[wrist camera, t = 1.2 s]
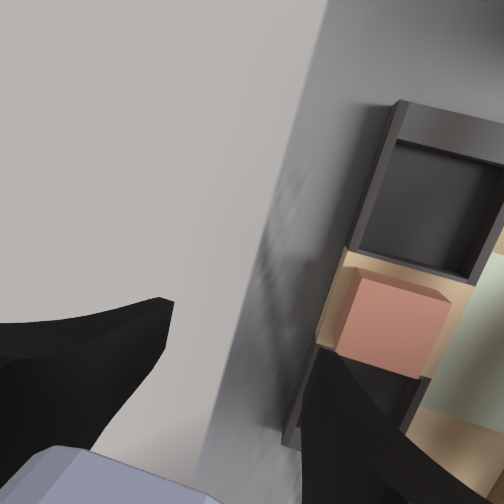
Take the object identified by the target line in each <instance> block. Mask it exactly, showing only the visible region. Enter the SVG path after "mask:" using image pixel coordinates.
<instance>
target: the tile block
mask: <svg viewBox="0 0 504 504" xmlns="http://www.w3.org/2000/svg"><path fill="white" fill-rule="evenodd" d="M451 306H452V303H451V302H450V301H449V300H448V299H447V298H446V297H445V296H443V295H442V294H441V293H440V292H439V291H438V290H436V289H433V288H429V287H426V286H422V285H419V284H415V283H411V282H408V281H404V280H401V279H397V278H394V277H390V276H387V275H383V274H380V273H376V272H373V271H369V270H366V269H362V268H359V267H356V270H355V273H354V275H353V278H352V281H351V284H350V287H349V289H348V292H347V295H346V298H345V301H344V303H343V306H342V309H341V312H340V315H339V317H338V320H337V323H336V326H335V329H334V331H333V334H332V340H333V347H334V352H337V353H338V355H341V356H344V357H347V358H350V359H354V360H357V361H360V362H363V363H366V364H370V365H373V366H376V367H379V368H383V369H386V370H389V371H392V372H395V373H399V374H402V375H405V376H408V377H411V378H415V379H418V378H419V376H420V374H421V372H422V370H423V367H424V365H425V363H426V361H427V359H428V356H429V354H430V352H431V350H432V348H433V346H434V343H435V341H436V339H437V337H438V335H439V332H440V330H441V328H442V326H443V324H444V322H445V319H446V317H447V315H448V313H449V311H450V308H451Z"/></svg>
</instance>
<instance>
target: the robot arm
mask: <svg viewBox="0 0 504 504" xmlns="http://www.w3.org/2000/svg"><path fill="white" fill-rule="evenodd" d="M173 306H174V302H173V301H170V300H167V299H164V298H161V297H157V298H152V299H149V300H145V301H141V302H138V303H134V304H131V305H128V306H124V307H120V308H117V309H113V310H109V311H104V312H101V313H96V314H92V315H87V316H82V317H75V318H69V319H62V320H53V321H40V322H28V323H0V504H224V503H222V502H220V501H219V500H217V499H215V498H214V497H212V496H211V495H209V494H207V493H204V492H202V491H199V490H196V489H193V488H191V487H188V486H185V485H182V484H180V483H177V482H174V481H171V480H169V479H166V478H163V477H160V476H158V475H155V474H152V473H149V472H147V471H144V470H141V469H139V468H136V467H133V466H130V465H128V464H125V463H122V462H119V461H116V460H114V459H111V458H108V457H106V456H103V455H100V454H97V453H95V452H92V451H90V449H91V448H92V446H93V445H94V443H95V442H96V441H97V439H98V437H99V436H100V435H101V433H102V432H103V430H104V428H105V427H106V426H107V425H108V423H109V422H110V421H111V419H112V418H113V417H114V416H115V414H116V413H117V412H118V411H119V409H120V408H121V407H122V406H123V405H124V403H125V402H126V401H127V400H128V398H129V397H130V396H131V395H132V394H133V393H134V391H135V390H136V389H137V388H138V387H139V385H140V384H141V383H142V382H143V380H144V379H145V378H146V377H147V376H148V374H149V373H150V372H151V371H152V369H153V368H154V366H155V364H156V363H157V361H158V360H159V358H160V356H161V355H162V353H163V351H164V349H165V347H166V342H167V336H168V332H169V327H170V322H171V317H172V311H173ZM301 454H302V504H493V503H491V502H490V501H488V500H487V499H485V498H484V497H482V496H481V495H479V494H478V493H476V492H475V491H473V490H472V489H471V488H469V487H468V486H467V485H465V484H464V483H463V482H461V481H460V480H458V479H457V478H456V477H454V476H453V475H452V474H450V473H449V472H448V471H446V470H445V469H444V468H443V467H441V466H440V465H439V464H438V463H436V462H435V461H434V460H433V459H432V458H430V457H429V456H428V455H427V454H426V453H425V452H423V451H422V450H421V449H420V448H419V447H418V446H417V445H415V444H414V443H413V442H412V441H411V440H410V439H409V438H408V437H407V436H406V435H405V434H403V433H402V432H401V431H400V430H399V429H398V427H397V426H396V425H395V424H394V423H393V422H392V421H391V420H390V419H389V418H388V417H387V416H386V415H385V414H384V413H383V412H382V411H381V410H380V408H379V407H378V406H377V405H376V404H375V402H374V401H373V400H372V399H371V398H370V397H369V395H368V394H367V393H366V391H365V390H364V389H363V388H362V386H361V385H360V384H359V382H358V381H357V380H356V378H355V377H354V376H353V374H352V373H351V371H350V370H349V369H348V367H347V366H346V364H345V363H344V361H343V360H342V359H341V357H340V356H339V355H338V353H337V352H334V351H331V350H328V349H325V348H321V347H319V350H318V353H317V356H316V359H315V362H314V365H313V367H312V370H311V373H310V376H309V379H308V382H307V385H306V387H305V390H304V393H303V401H302V410H301Z"/></svg>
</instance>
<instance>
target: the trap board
mask: <svg viewBox="0 0 504 504" xmlns="http://www.w3.org/2000/svg"><path fill="white" fill-rule="evenodd" d="M356 267H359V268H362V269H366V270H369V271H373V272H376V273H380V274H383V275H387V276H390V277H394V278H397V279H401V280H404V281H408V282H411V283H415V284H419V285H422V286H426V287H429V288H433V289H436V290H438V291H439V292H440V293H441V294H442V295H443V296H445V297H446V298H447V299H448V300H449V301H450V302H451V303H452V306H451V308H450V311H449V313H448V315H447V317H446V319H445V322H444V324H443V326H442V328H441V330H440V332H439V335H438V337H437V339H436V341H435V343H434V346H433V348H432V350H431V352H430V354H429V356H428V359H427V361H426V363H425V365H424V367H423V370H422V372H421V374H420V376H419V378H418V379H415V378H411V377H408V376H405V375H402V374H399V373H395V372H392V371H389V370H386V369H383V368H379V367H376V366H373V365H370V364H366V363H363V362H360V361H357V360H354V359H350V358H347V357H344V356H341V355H339V356H340V357H341V359H342V360H343V361H344V363H345V364H346V366H347V367H348V369H349V370H350V371H351V373H352V374H353V376H354V377H355V378H356V380H357V381H358V382H359V384H360V385H361V386H362V388H363V389H364V390H365V391H366V393H367V394H368V395H369V397H370V398H371V399H372V400H373V401H374V402H375V404H376V405H377V406H378V407H379V408H380V410H381V411H382V412H383V413H384V414H385V415H386V416H387V417H388V418H389V419H390V420H391V421H392V422H393V423H394V424H395V425H396V426H397V427H398V429H399V430H400V431H401V432H402V433H403V434H405V435H406V436H407V437H408V438H409V439H410V440H411V441H412V442H413V443H414V444H415V445H417V446H418V447H419V448H420V449H421V450H422V451H423V452H425V453H426V454H427V455H428V456H429V457H430V458H432V459H433V460H434V461H435V462H436V463H438V464H439V465H440V466H441V467H443V468H444V469H445V470H446V471H448V472H449V473H450V474H452V475H453V476H454V477H456V478H457V479H458V480H460V481H461V482H463V483H464V484H465V485H467V486H468V487H469V488H471V489H472V490H473V491H475V492H476V493H478V494H479V495H481V496H482V497H484V498H485V499H487V500H488V501H490V502H491V503H493V504H504V124H502V123H498V122H494V121H490V120H485V119H481V118H477V117H472V116H468V115H464V114H460V113H455V112H451V111H447V110H443V109H438V108H434V107H430V106H425V105H421V104H417V103H413V102H408V101H404V100H399V101H397V102H396V103H395V104H394V105H392V108H391V111H390V114H389V117H388V120H387V123H386V126H385V129H384V132H383V134H382V137H381V140H380V143H379V146H378V149H377V152H376V155H375V158H374V161H373V164H372V167H371V170H370V173H369V176H368V179H367V181H366V184H365V187H364V190H363V193H362V196H361V199H360V202H359V205H358V208H357V211H356V214H355V217H354V220H353V223H352V226H351V228H350V231H349V234H348V237H347V240H346V243H345V246H344V249H343V252H342V255H341V258H340V261H339V264H338V267H337V270H336V273H335V275H334V278H333V281H332V284H331V287H330V290H329V293H328V296H327V299H326V302H325V305H324V308H323V311H322V314H321V317H320V319H319V322H318V325H317V328H316V331H315V334H314V337H313V340H312V343H311V346H310V349H309V352H308V355H307V358H306V361H305V364H304V366H303V369H302V372H301V375H300V378H299V381H298V384H297V387H296V390H295V393H294V396H293V399H292V402H291V405H290V408H289V411H288V413H287V416H286V419H285V422H284V425H283V429H282V439H281V445H284V446H287V447H289V448H292V449H295V450H298V451H301V410H302V401H303V393H304V390H305V387H306V385H307V382H308V379H309V376H310V373H311V370H312V367H313V365H314V362H315V359H316V356H317V353H318V350H319V347H321V348H325V349H328V350H331V351H334V347H333V340H332V334H333V331H334V329H335V326H336V323H337V320H338V317H339V315H340V312H341V309H342V306H343V303H344V301H345V298H346V295H347V292H348V289H349V287H350V284H351V281H352V278H353V275H354V273H355V270H356Z"/></svg>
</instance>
